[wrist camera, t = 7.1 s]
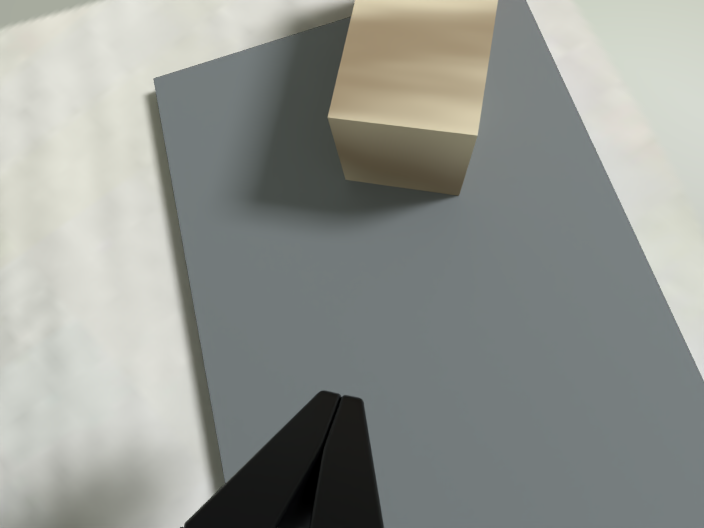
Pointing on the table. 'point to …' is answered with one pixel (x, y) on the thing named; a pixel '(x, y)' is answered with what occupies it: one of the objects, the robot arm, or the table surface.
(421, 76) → the beech block
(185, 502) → the table surface
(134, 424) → the table surface
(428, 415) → the slate mat
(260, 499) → the robot arm
